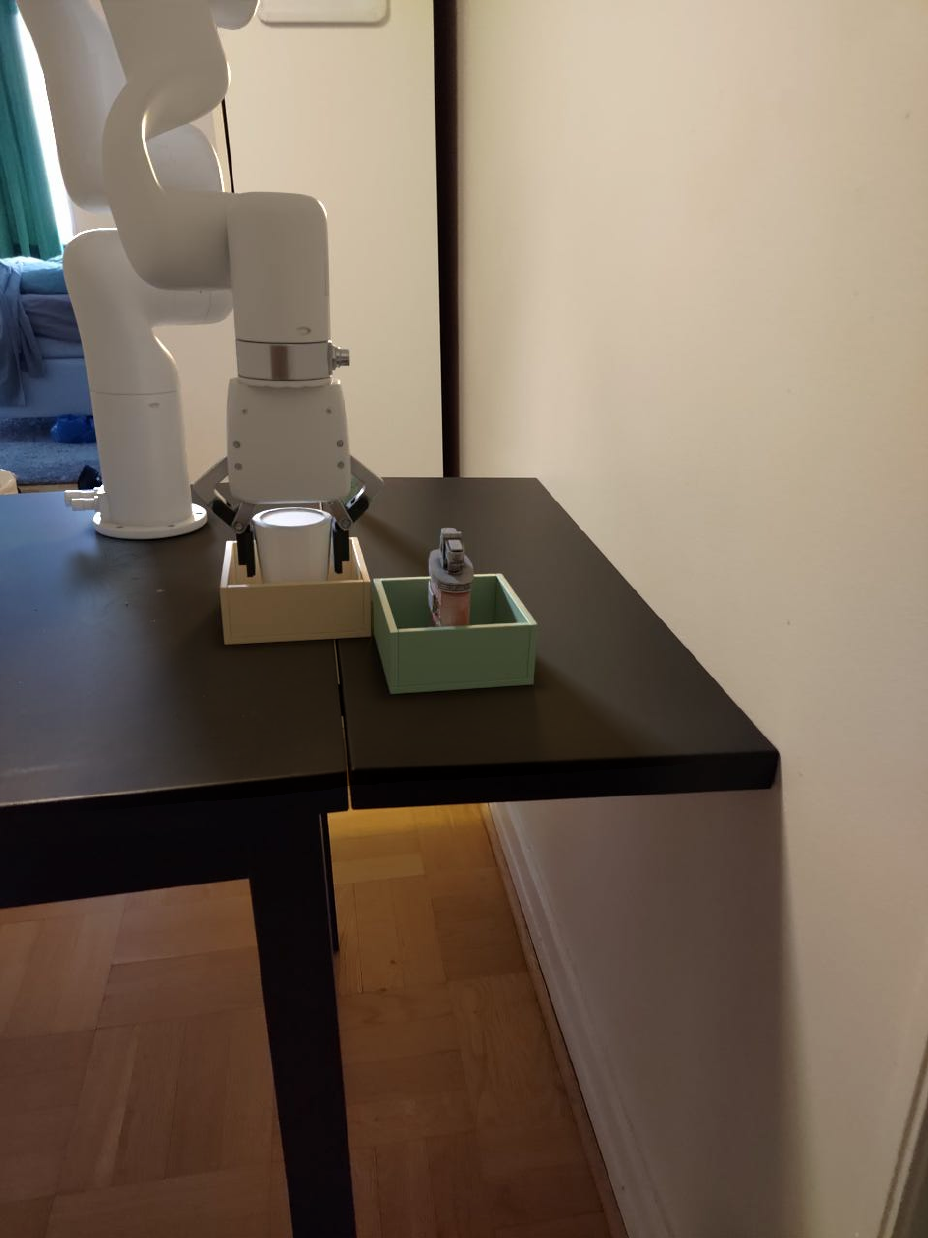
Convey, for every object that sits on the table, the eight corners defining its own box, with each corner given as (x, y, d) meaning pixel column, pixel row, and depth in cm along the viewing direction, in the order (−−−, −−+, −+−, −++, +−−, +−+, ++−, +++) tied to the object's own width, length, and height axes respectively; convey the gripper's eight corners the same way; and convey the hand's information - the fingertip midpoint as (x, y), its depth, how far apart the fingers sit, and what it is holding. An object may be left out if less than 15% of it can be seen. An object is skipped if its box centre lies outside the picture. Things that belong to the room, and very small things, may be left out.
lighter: (423, 631, 73) (425, 518, 69) (462, 630, 74) (466, 518, 70) (432, 673, 66) (435, 551, 62) (476, 672, 66) (481, 550, 62)
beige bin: (224, 645, 71) (219, 587, 69) (230, 591, 82) (226, 540, 80) (371, 637, 73) (370, 581, 71) (358, 586, 84) (357, 536, 82)
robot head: (371, 509, 109) (370, 457, 106) (341, 513, 107) (340, 460, 104) (345, 494, 115) (344, 444, 112) (317, 497, 113) (315, 447, 110)
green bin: (390, 694, 64) (390, 632, 62) (373, 633, 74) (373, 578, 72) (533, 684, 66) (538, 624, 64) (498, 626, 76) (501, 573, 74)
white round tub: (318, 610, 73) (315, 531, 70) (243, 601, 74) (238, 524, 71) (345, 582, 79) (343, 509, 76) (275, 575, 80) (271, 503, 77)
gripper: (386, 358, 74) (386, 553, 81) (177, 356, 70) (196, 560, 77) (397, 369, 67) (397, 581, 74) (167, 368, 64) (189, 590, 71)
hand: (294, 568), depth 76 cm, fingers closed on white round tub, 6 cm apart
